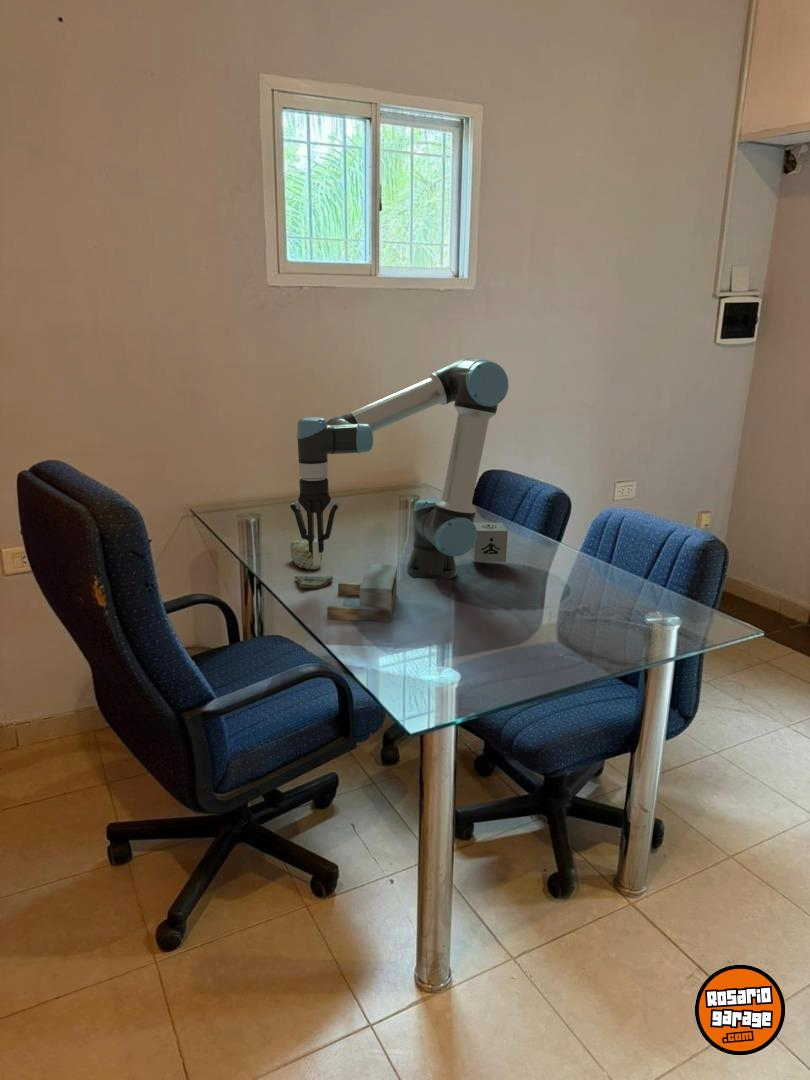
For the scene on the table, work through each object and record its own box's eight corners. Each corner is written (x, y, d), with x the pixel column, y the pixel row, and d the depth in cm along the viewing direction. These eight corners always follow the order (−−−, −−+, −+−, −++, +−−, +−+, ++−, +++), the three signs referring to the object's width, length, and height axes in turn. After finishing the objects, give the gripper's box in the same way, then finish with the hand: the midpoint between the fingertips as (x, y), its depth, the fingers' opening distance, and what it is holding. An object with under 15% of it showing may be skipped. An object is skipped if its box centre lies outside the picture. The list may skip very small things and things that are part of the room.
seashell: (320, 569, 218) (309, 536, 217) (291, 578, 221) (279, 546, 220) (331, 562, 228) (320, 531, 227) (303, 571, 230) (292, 540, 230)
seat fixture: (396, 595, 202) (397, 565, 200) (390, 621, 184) (391, 589, 181) (338, 592, 203) (338, 562, 201) (327, 619, 184) (327, 586, 182)
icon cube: (470, 552, 243) (471, 522, 241) (500, 552, 244) (502, 522, 241) (474, 561, 234) (475, 530, 231) (505, 561, 234) (507, 530, 232)
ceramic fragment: (295, 584, 202) (294, 568, 212) (295, 594, 204) (294, 578, 213) (335, 585, 204) (332, 569, 214) (334, 595, 206) (332, 579, 215)
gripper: (340, 475, 198) (342, 559, 205) (292, 474, 199) (295, 559, 206) (336, 480, 191) (338, 568, 198) (285, 480, 192) (290, 567, 199)
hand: (317, 563), depth 202 cm, fingers closed
